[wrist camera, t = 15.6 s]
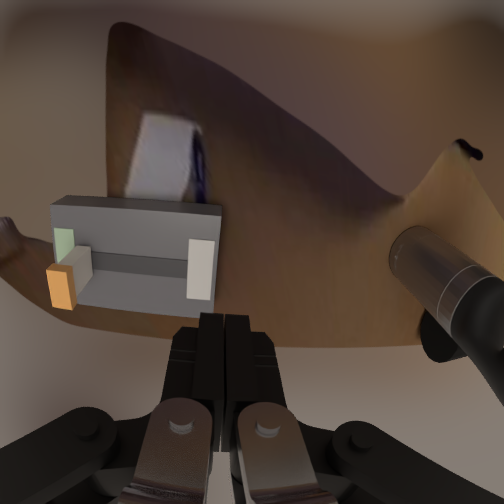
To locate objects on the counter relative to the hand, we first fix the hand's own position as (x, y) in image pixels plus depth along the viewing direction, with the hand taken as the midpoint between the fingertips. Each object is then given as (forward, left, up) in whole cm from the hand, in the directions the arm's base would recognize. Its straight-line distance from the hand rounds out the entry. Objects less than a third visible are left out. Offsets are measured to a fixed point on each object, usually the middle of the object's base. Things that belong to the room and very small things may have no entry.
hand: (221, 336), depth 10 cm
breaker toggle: (+17, +11, -27) cm, 33 cm away
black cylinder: (-54, +19, -32) cm, 66 cm away
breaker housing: (+11, +11, -32) cm, 36 cm away
